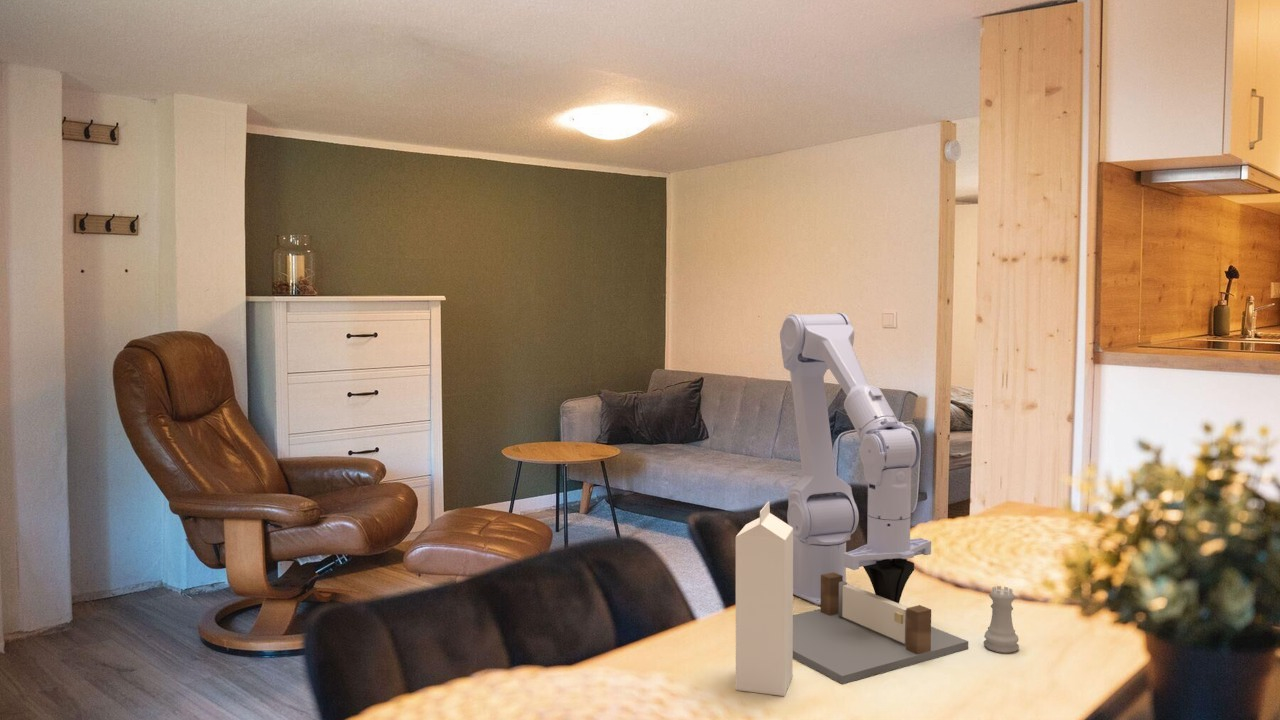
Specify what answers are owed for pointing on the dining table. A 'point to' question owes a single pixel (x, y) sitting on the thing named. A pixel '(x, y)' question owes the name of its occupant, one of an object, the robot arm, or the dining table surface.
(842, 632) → the base
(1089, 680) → the dining table surface
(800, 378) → the robot arm
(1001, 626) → the rook chess piece
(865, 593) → the gate leaf
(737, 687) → the milk
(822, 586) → the gate posts
